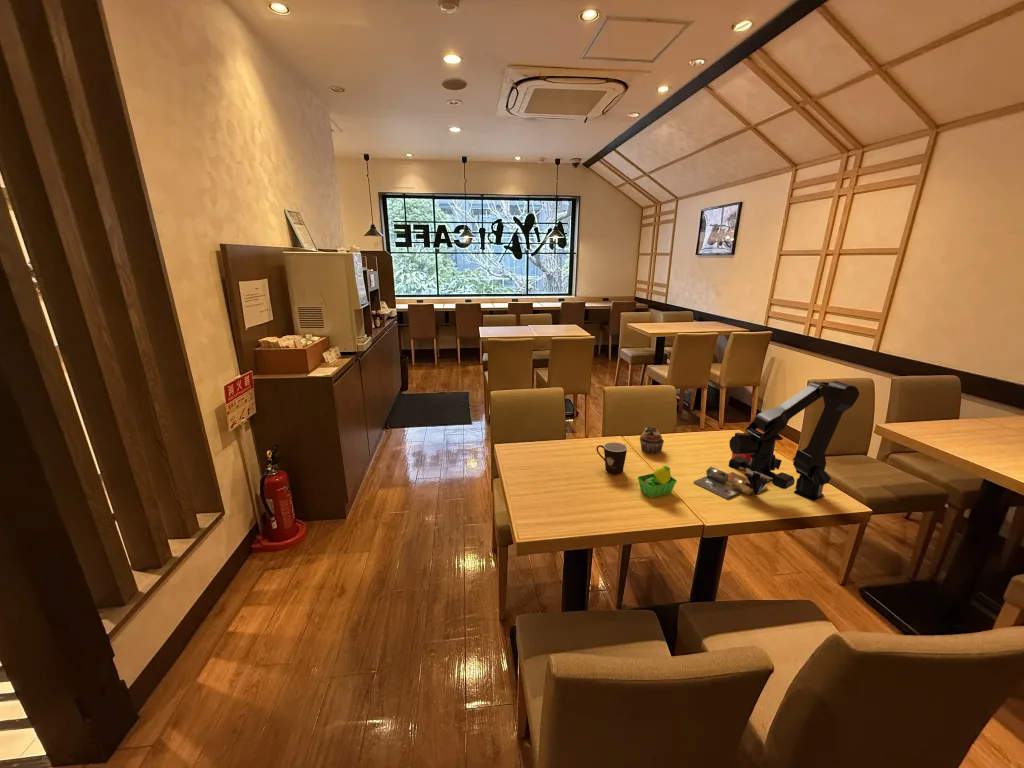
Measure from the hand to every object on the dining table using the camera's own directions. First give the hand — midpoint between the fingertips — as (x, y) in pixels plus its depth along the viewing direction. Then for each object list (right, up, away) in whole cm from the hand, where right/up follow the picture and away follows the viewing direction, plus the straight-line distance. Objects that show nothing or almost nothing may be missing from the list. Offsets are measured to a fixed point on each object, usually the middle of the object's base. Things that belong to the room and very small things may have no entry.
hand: (756, 494), depth 142 cm
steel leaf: (-9, +1, +8) cm, 12 cm away
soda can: (+6, +5, +22) cm, 23 cm away
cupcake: (-23, +9, +38) cm, 45 cm away
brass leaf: (-1, +1, +8) cm, 9 cm away
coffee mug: (-43, +4, +22) cm, 49 cm away
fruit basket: (-32, -1, +5) cm, 32 cm away
